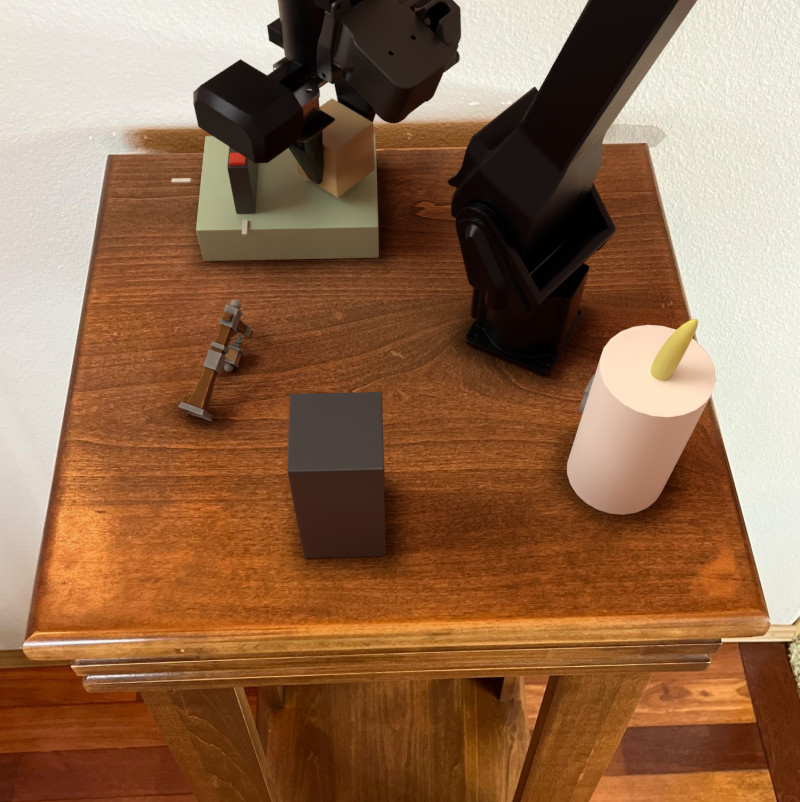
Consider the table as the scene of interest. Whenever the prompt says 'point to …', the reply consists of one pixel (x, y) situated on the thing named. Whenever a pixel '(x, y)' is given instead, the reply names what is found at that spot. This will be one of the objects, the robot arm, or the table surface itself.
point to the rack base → (283, 214)
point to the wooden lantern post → (218, 359)
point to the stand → (337, 473)
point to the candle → (639, 416)
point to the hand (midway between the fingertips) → (335, 166)
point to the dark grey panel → (242, 181)
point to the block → (345, 149)
